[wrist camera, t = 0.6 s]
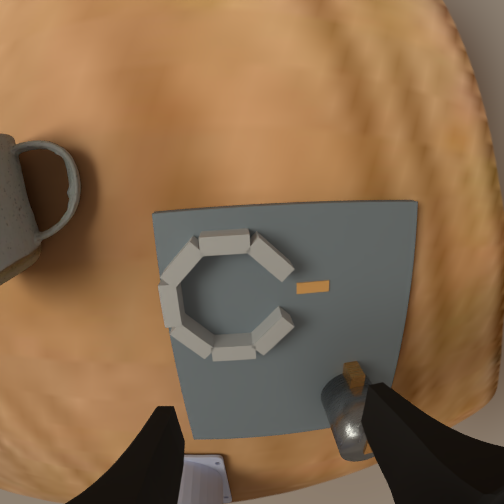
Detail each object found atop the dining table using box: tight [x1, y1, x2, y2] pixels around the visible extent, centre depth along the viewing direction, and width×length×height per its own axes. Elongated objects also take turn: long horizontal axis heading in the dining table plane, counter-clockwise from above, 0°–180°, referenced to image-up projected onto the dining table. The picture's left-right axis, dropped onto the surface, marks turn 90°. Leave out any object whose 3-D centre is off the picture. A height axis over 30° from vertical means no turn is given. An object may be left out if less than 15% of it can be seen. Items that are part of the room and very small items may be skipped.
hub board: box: [152, 200, 418, 439], centre depth 20 cm, size 18×16×2 cm
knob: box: [321, 361, 374, 461], centre depth 19 cm, size 5×4×6 cm
